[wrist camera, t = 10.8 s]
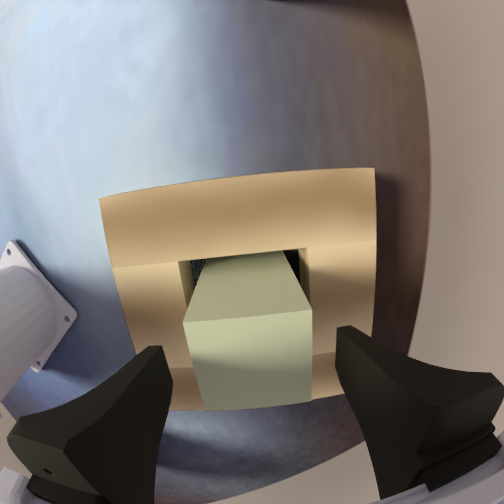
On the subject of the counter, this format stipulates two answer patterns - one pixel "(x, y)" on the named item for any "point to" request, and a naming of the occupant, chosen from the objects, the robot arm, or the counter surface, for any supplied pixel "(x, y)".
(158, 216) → the well block
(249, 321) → the peg
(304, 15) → the counter surface
